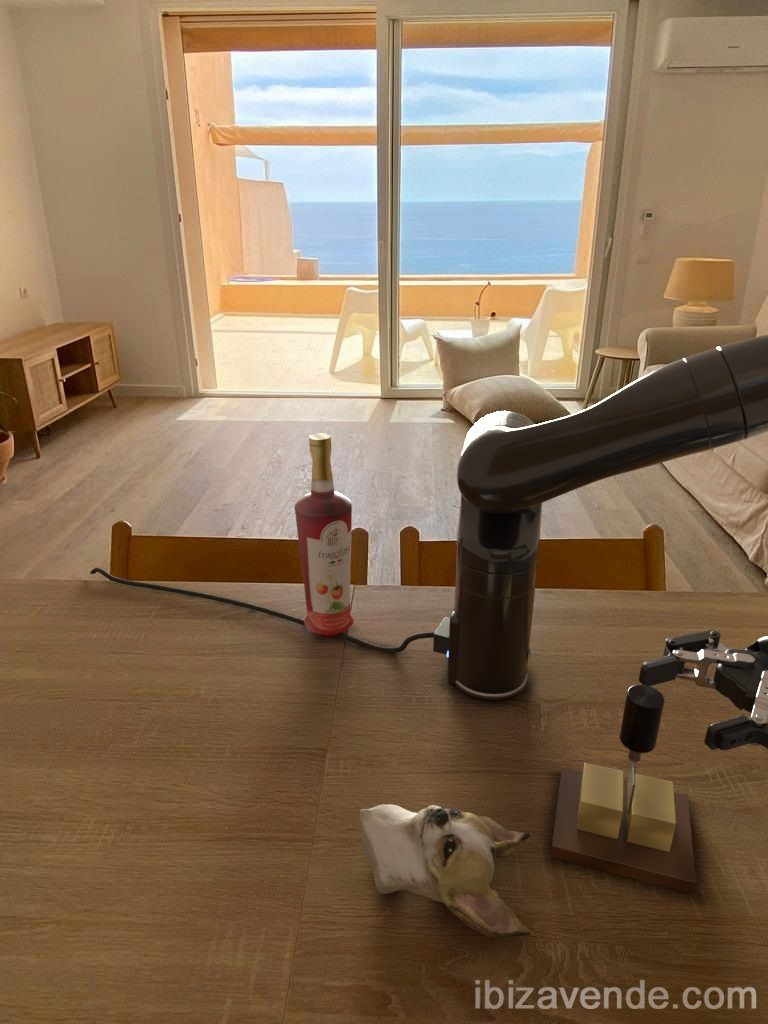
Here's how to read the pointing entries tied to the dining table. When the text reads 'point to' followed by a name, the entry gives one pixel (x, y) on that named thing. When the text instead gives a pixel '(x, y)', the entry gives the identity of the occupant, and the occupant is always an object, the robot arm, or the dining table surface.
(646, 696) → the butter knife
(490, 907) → the ceramic sculpture
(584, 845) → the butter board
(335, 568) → the liquor
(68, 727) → the dining table surface
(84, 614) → the dining table surface
